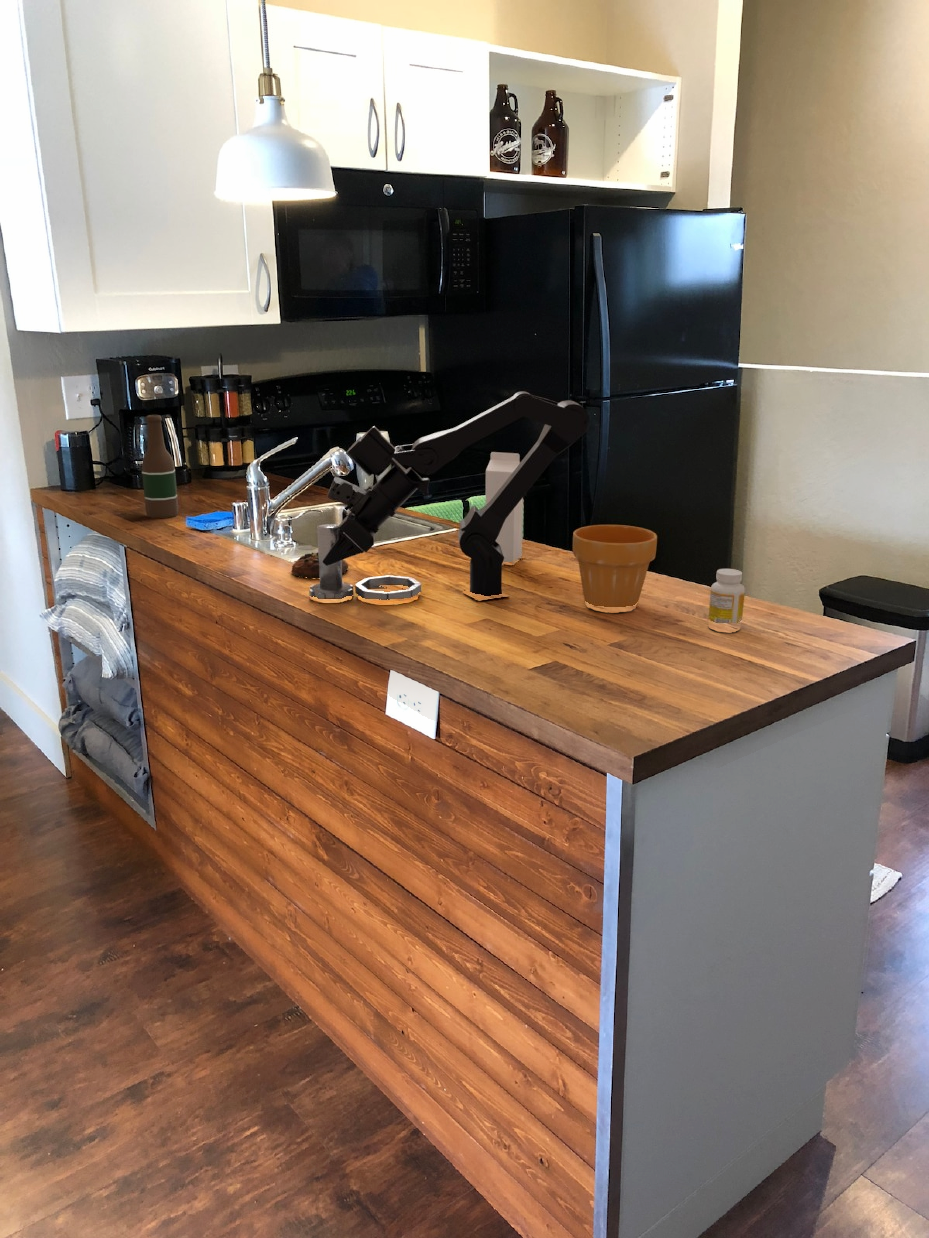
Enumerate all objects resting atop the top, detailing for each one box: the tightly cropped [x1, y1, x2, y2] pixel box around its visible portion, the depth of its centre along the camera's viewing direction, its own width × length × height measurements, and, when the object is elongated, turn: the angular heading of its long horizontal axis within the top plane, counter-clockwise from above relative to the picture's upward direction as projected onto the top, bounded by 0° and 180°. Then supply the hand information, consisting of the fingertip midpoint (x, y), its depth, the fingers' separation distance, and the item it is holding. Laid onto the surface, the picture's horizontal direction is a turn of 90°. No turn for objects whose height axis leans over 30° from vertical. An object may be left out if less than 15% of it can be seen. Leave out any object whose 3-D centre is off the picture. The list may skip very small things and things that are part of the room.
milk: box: [485, 451, 524, 562], centre depth 201 cm, size 6×6×22 cm
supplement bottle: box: [707, 568, 746, 623], centre depth 163 cm, size 5×5×10 cm
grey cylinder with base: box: [308, 523, 354, 599], centre depth 178 cm, size 8×8×13 cm
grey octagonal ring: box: [354, 574, 422, 600], centre depth 181 cm, size 11×11×2 cm
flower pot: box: [572, 524, 658, 607], centre depth 174 cm, size 14×14×13 cm
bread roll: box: [290, 551, 349, 578], centre depth 196 cm, size 11×11×5 cm
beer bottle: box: [141, 414, 179, 519], centre depth 242 cm, size 8×8×24 cm
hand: (326, 557), depth 178 cm, fingers open, 9 cm apart
